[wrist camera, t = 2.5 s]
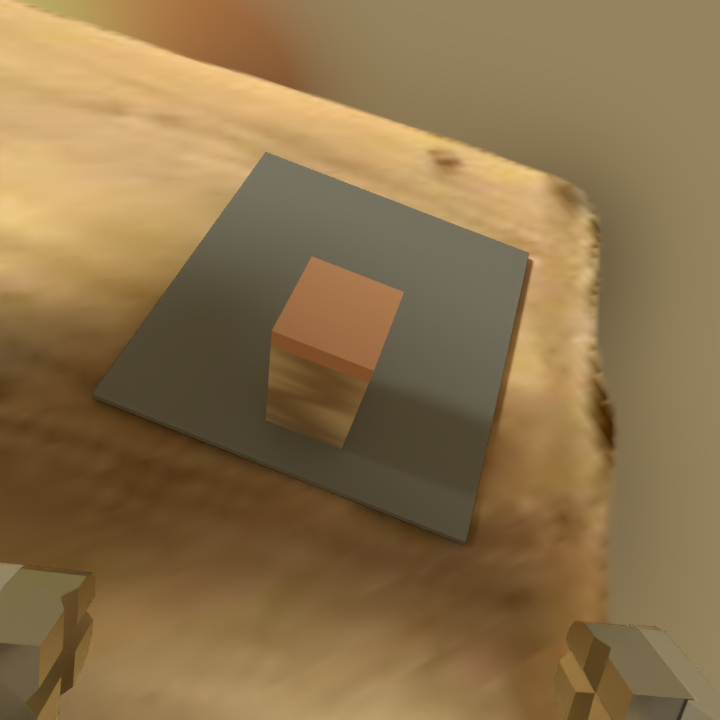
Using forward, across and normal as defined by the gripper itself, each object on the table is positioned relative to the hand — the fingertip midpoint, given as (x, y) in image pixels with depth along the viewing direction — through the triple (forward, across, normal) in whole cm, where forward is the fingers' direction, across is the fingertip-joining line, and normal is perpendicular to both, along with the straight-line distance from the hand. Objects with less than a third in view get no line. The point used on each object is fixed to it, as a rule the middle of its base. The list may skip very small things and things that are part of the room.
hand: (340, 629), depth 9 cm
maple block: (+18, 0, +2) cm, 18 cm away
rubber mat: (+23, -1, -2) cm, 23 cm away
